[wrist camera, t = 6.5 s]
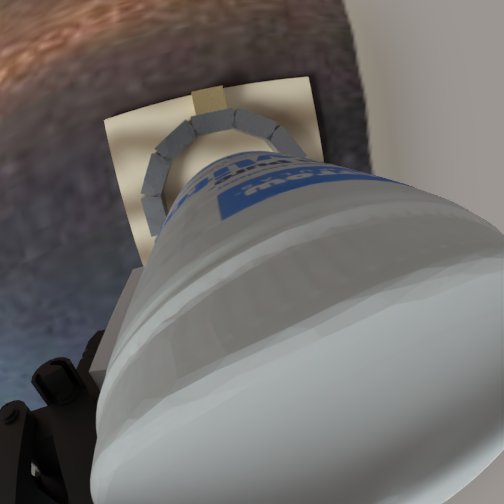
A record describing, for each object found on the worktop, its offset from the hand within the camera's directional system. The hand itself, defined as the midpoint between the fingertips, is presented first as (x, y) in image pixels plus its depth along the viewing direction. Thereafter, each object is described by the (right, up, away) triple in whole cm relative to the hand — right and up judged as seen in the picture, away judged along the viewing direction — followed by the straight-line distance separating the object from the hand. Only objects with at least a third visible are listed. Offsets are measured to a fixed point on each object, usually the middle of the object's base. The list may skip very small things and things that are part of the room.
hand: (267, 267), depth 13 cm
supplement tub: (-1, +1, +4) cm, 4 cm away
